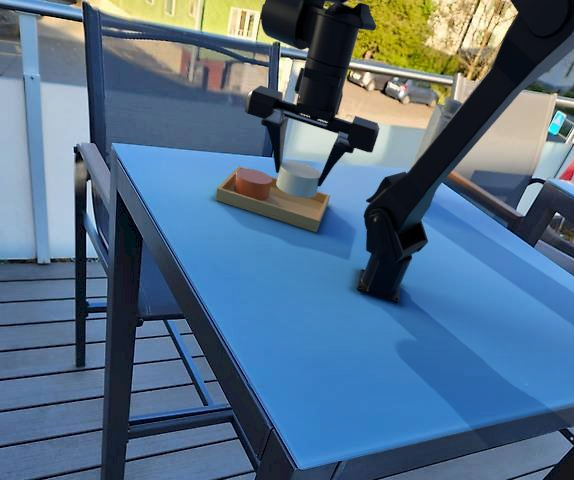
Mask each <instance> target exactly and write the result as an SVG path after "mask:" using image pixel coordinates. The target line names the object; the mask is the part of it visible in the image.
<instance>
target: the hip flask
mask: <svg viewBox="0 0 574 480" xmlns="http://www.w3.org/2000/svg"><path fill="white" fill-rule="evenodd" d="M462 103H463V102H461V101H459V100H457V99H455V98H451V97H444V99H443V104H441V103H435V105H434V108H433V110H432V113H431V115H430V117H429V120H428V122H427V125H426V128H425V131H424V133H423V135H422V137H421V140H420V143H419V146H418V148H417V150H416V154H415V156H414V159H413V161H412V164H411V166H410V169H411V168H412V167H413V165H414V164H415V163H416V162H417V160H418V159H419V158H420V157H421V155H422V154H423V153H424V152H425V150H426V149H427V148H428V146H429V145H430V144H431V143H432V141H433V140H434V139H435V138H436V136H437V135H438V134H439V133H440V131H441V130H442V129H443V128H444V126H445V125H446V124H447V122H448V121H449V120H450V119H451V117H452V116H453V115H454V114H455V112H456V111H457V110H458V109H459V107H460V106H461V105H462Z"/></svg>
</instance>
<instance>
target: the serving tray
mask: <svg viewBox="0 0 574 480" xmlns="http://www.w3.org/2000/svg"><path fill="white" fill-rule="evenodd" d="M239 169H247V168H246V167H244V166H237V167H236V168H235V169H234V171H232V173H230V174H229V175H228V176H227V177H226V179H224V181H223V182H222V183H221V184H220V185H219V186H218V187H217V188H216V194H215V201H217V202H220V203H224V204H226V205H231V206H232V207H236V208H239V209H241V210H245V211H248V212H251V213H255V214H258V215H260V216H263V217H267V218H271V219H273V220H276V221H280V222H282V223H285V224H288V225H292V226H296V227H298V228H301V229H304V230H307V231H310V232H314V233H317V232H318V229H319V227H320V225H321V223H322V220H323V217H324V215H325V212H326V210H327V208H328V205H329V201H330V198H331V195H330V194H327V193H325V192H322V191H318V190H317V193H316V195H315V196H314V197H312V198H301V197H296V196H292V195H289V194H287V193H285V192H283V191H281V190H280V189H279V188H278V187H277V185H276V182H277V177H274V176H271V175H269V176H270V177H271V178H272V184H271V189H270V193H269V197H268V199H266V200H257V199H253V198H250V197H247V196H244V195H241V194H238V193H236V192H235V191H234V185H235V179H236V173H237V171H238V170H239Z"/></svg>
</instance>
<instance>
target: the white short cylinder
mask: <svg viewBox="0 0 574 480" xmlns="http://www.w3.org/2000/svg"><path fill="white" fill-rule="evenodd" d="M321 174H322V172H321V171H320V170H319V169H317V168H316V167H313V166H312V165H310V164H307V163H305V162H301V161H296V160H284V161H282V163H281V164H280V168H279V173H277V177H276V178H277V182H276V185H277V187H278V188H279V189H280V190H281V191H283V192H285V193H287V194H289V195H292V196H296V197H301V198H312V197H314V196H315V195H316V193H317V191H318V189H319V186H318V183H319V179H320V176H321Z"/></svg>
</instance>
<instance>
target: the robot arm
mask: <svg viewBox="0 0 574 480" xmlns="http://www.w3.org/2000/svg"><path fill="white" fill-rule="evenodd" d="M349 1H350V0H265V1H264V2H263V4H262V6H261V12H260V24H261V29H262V31H263V33H264V34H265V36H267V37H269V38H271V39H273V40H276V41H278V42H280V43H283V44H286V45H288V46H290V47H292V48H295V49H297V50H298V51H303V50H306V49H307V48H308V49H307V54H306V59H305V62H304V66H303V67H300V69H299V71H298V74H297V78H296V81H295V85H294V92H295V94H297V100H296V103H293V102H290V101H287V100H284V99H283V92H282V91H279V90H276V89H273V88H270V87H267V86H264V85H259V86H258V87H256V88H254V89H253V90H251V91H250V92H249V93H248V94H247V97H246V101H245V108H244V113H246V114H248V115H250V116H253V117H255V118H256V117H257V118H260V119H261V121H260V124H261V126H264V127H266V129H267V132H268V137H269V140H270V144H271V149H272V155H273V162H274V169H275V173H276V174H278V173H279V168H280V164H281V163H282V162H283V159H284V150H285V143H286V142H285V141H286V133H287V128H288V125H289V120H294V121H297V122H300V123H304V124H306V125H309V126H313V127H316V128H319V129H321V130H325V131H328V132H332V133H334V134H337V137H336V139H335V141H334V143H333V145H332V147H331V149H330V152H329V154H328V157H327V159H326V162H325V165H324V167H323V169H322V172H321V176H320V179H319V183H318V188H319V187H321V186H322V185H323V183H324V182H325V181H326V179H327V177H328V176H329V174H330V173H331V171H332V169H333V168H334V166H335V165H336V164H337V163H338V162H339V161H340V159H341V158H342V157H343V156H344V155H345V154H346V153H347V154H354V151H355V149H356V150H359V151H362V152H366V153H369V154H371V153H373V152H374V148H375V146H376V143H377V140H378V136H379V134H380V126H379V123H378V122H375V121H372V120H369V119H367V118H363V117H360V116H357V115H355V116H354V118H353V119H352V121H349V120H345V119H342V118H340V117H336V116H337V115H338V114H339V111H340V107H341V104H342V100H343V96H344V95H343V93H344V92H343V91H344V90H343V89H344V86H345V82H346V79H347V76H348V71H349V67H350V64H351V60H352V57H353V53H354V49H355V46H356V43H357V39H358V35H359V30H364V31H371V32H374V31H375V30H376V29H377V24H376V22H375V20H374V17H373V15H372V13H371V9H370V5H369V4H367V3H364V0H356V1H357V2H358V1H359V3H357V4H356V5H355V6H354V7H352V6H349V5H347V4H346V3H347V2H349ZM362 1H363V3H362ZM327 2H328V3H332V4H330V5H329V6H328V7H327V8H326V7H325V3H327ZM509 2H510V3H511V4H512V6H513V7H514V9H515V11H516V12H517V13H516V15H515V17H514V19H513V20H512V22H511V23H510V25H509V26H508V29H507V30H506V32H505V34H504V36H503V38H502V41H501V43H500V46H499V48H498V50H497V53H496V56H495V58H494V61H493V62H492V64H491V66H490V67H489V69H488V70H487V72H486V73H485V74H484V76H483V77H481V79H480V81H479V82H478V83H477V84H476V86H475V87H474V88H473V89H472V91H471V92H470V93H469V94H468V96H467V97H466V99H465V100H464V101H463V102H461V103H462V105H461V106H460V107H459V108H458V110H457V111H456V112H455V114H454V115H453V116H452V117H451V119H450V120H449V121H448V122H447V124H446V125H445V126H444V128H443V129H442V130H441V131H440V133H439V134H438V135H437V136H436V138H435V139H434V140H433V141H432V143H431V144H430V145H429V146H428V148H427V149H426V150H425V152H424V153H423V154H422V155H421V157H420V158H419V159H418V160H417V162H416V163H415V164H414V165H413V167H412V168H411V167H410V169H409V171H407V172H406V171H402V172H399V173H395V174H391V175H386V176H385V177H383V179H382V180H381V182H380V183H379V185H378V187H377V188H376V190H375V192H374V193H373V195H371V196H370V197H369V198H367V199H366V200H365V202H366V203H367V204H368V205H367V206H366V208H365V210H364V213H363V219H364V227H365V230H366V234H365V235H366V237H365V238H366V239H365V243H366V244H365V251H366V252H367V253H369V254H370V256H369V258H368V262H367V263H366V266H365V268H364V269H363V268H361V269H360V270H359V274H358V279H357V284H356V291H357V292H360V293H363V294H365V295H369V296H372V297H375V298H378V299H381V300H385V301H387V302H391V303H394V304H399V302H400V299H401V298H400V296H401V284H402V282H403V280H404V278H405V275H406V273H407V270H408V268H409V266H410V264H411V261H412V259H413V255H414V254H416V253H419V252H421V250H422V249H423V248H424V247H426V245H427V244H428V243H429V239H428V236H427V233H426V230H425V227H424V223H423V218H424V216H425V215H426V213H427V212H428V210H429V209H430V207H431V205H432V202H433V199H434V197H435V195H436V192H437V190H438V188H439V187H440V186H441V185H442V184H443V182H444V181H446V179H447V178H448V177H449V176H450V174H452V172H453V171H454V170H455V168H457V166H458V165H459V164H460V163H461V162H462V161H463V160H464V158H465V157H466V156H467V155H468V153H470V151H471V150H472V149H473V148H474V147H475V146H476V144H477V143H478V142H479V141H480V140H481V138H483V136H484V135H485V134H486V133H487V132H488V130H489V129H490V128H491V127H492V126H493V125H494V124H495V123H496V121H497V120H498V119H499V118H500V117H501V115H502V114H504V112H505V111H506V110H507V109H508V108H509V106H511V104H512V103H513V102H514V101H515V100H516V98H517V97H518V96H519V95H520V94H521V93H522V92H523V91H524V90H525V89H526V88H527V87H529V86H530V85H532V84H533V83H534V82H535V81H536V80H538V79H539V78H540V77H541V76H543V75H544V74H546V73H547V72H549V71H550V70H551V69H552V68H554V67H555V66H556V65H558V63H560V62H561V61H562V60H563V59H564V58H565V57H567V56H568V55H569V54H570V53H571V52H572V51H573V50H574V0H509Z"/></svg>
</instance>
